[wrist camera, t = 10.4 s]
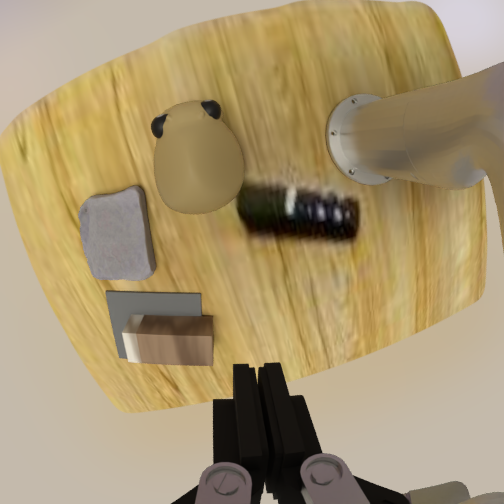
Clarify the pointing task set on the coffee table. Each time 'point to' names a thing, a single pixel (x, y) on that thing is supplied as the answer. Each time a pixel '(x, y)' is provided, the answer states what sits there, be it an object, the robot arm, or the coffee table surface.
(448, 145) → the robot arm
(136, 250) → the stone block
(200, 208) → the tan rounded figure
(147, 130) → the coffee table surface
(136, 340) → the walnut block
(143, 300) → the rubber mat
